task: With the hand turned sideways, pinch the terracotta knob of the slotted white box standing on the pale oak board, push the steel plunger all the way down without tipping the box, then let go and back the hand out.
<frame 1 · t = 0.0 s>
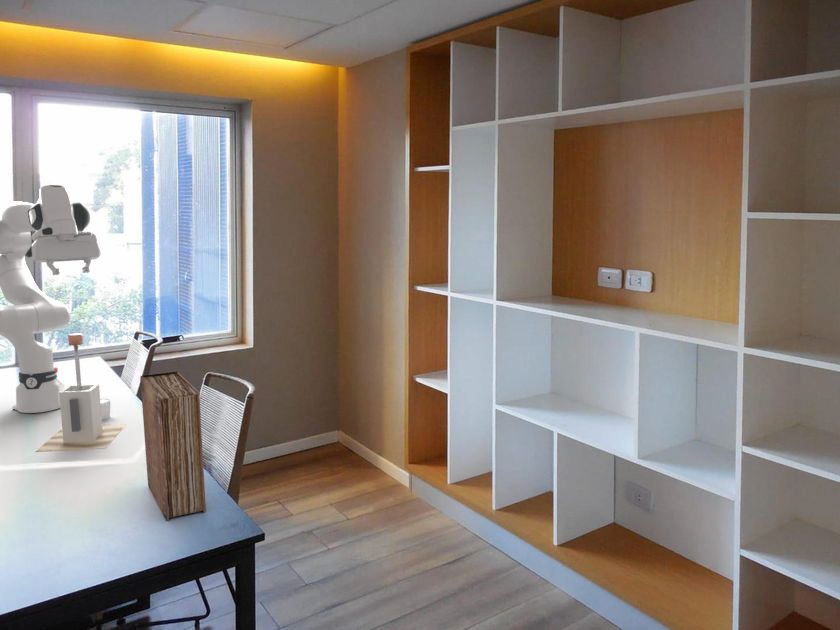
hand: (71, 273, 227), 52 cm above the table, tool tilted 20°, fingers open, 8 cm apart
slotted white box: (83, 437, 222), point 1 cm above the table, touching oak board
shot glass: (101, 421, 244), on the table
book: (175, 499, 177), on the table
plunger: (78, 372, 219), point 22 cm above the table, slide at 8.0 cm
oak board: (83, 440, 222), on the table
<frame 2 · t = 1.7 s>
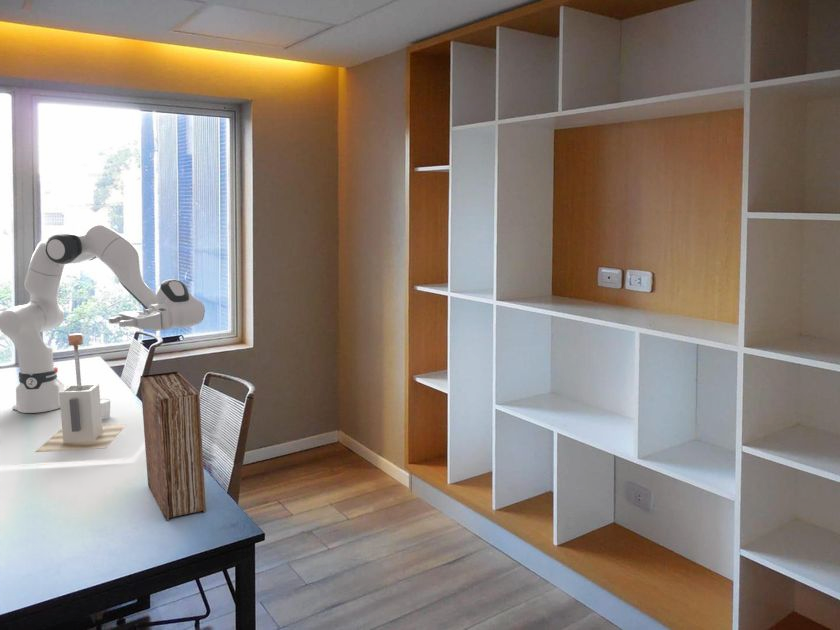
hand: (114, 322, 225), 37 cm above the table, tool horizontal, fingers open, 8 cm apart
nothing on the table moved.
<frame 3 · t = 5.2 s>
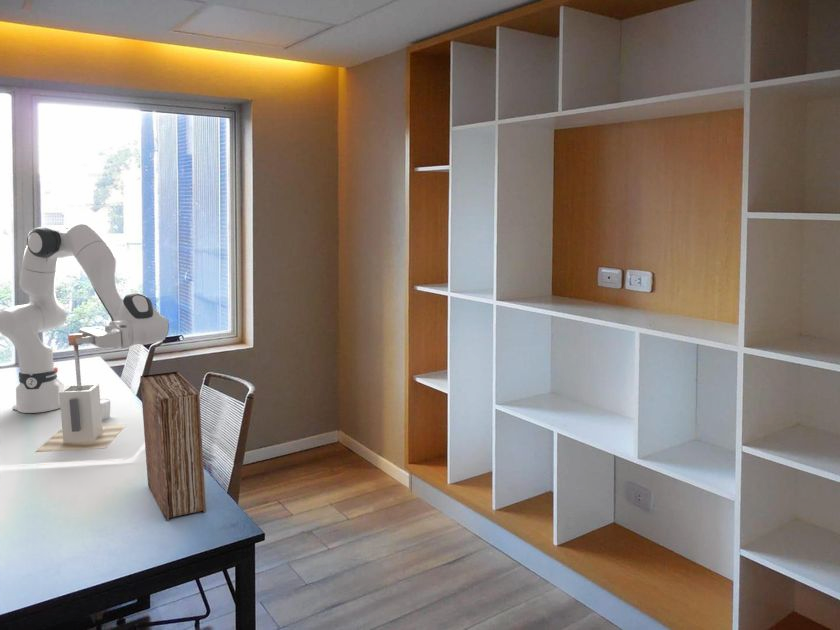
hand: (72, 339, 217), 33 cm above the table, tool horizontal, fingers closed on plunger, 4 cm apart
plunger: (78, 372, 219), point 22 cm above the table, slide at 8.0 cm, touching gripper
everything else where it was.
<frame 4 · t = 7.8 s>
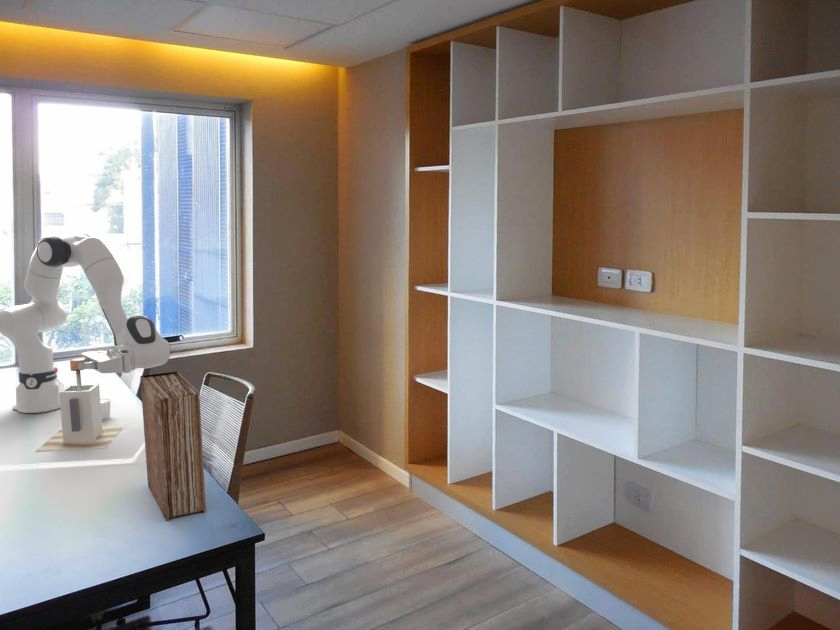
hand: (74, 365, 218), 25 cm above the table, tool horizontal, fingers closed on plunger, 4 cm apart
plunger: (80, 396, 220), point 14 cm above the table, slide at 0.0 cm, touching gripper
everything else where it was.
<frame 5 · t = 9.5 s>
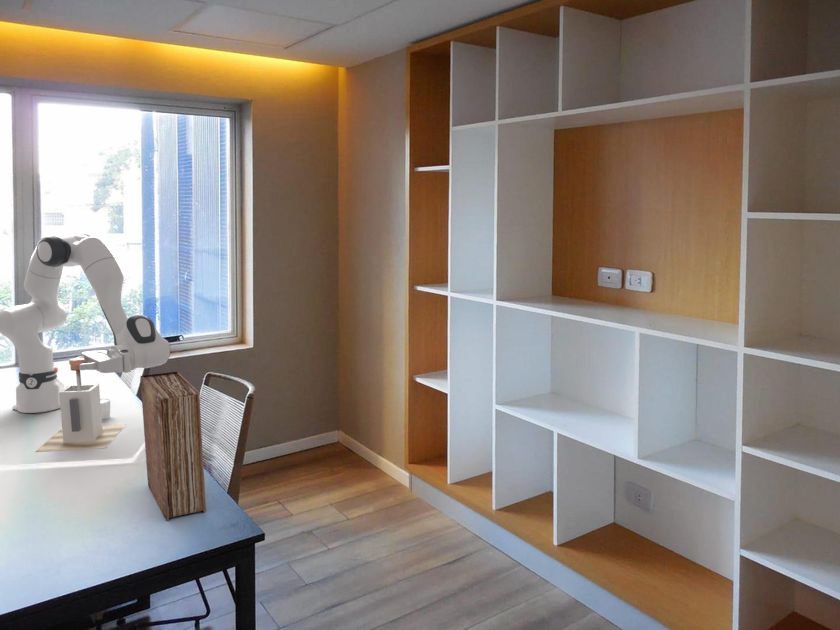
hand: (74, 364, 218), 25 cm above the table, tool horizontal, fingers open, 8 cm apart
plunger: (80, 396, 220), point 14 cm above the table, slide at 0.1 cm
everything else where it was.
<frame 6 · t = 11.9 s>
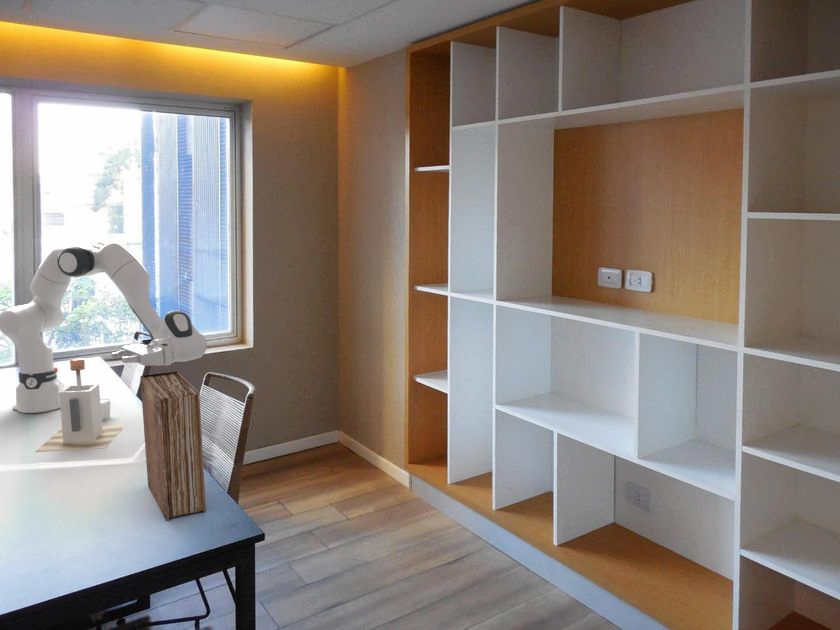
hand: (117, 357, 227), 25 cm above the table, tool horizontal, fingers open, 8 cm apart
nothing on the table moved.
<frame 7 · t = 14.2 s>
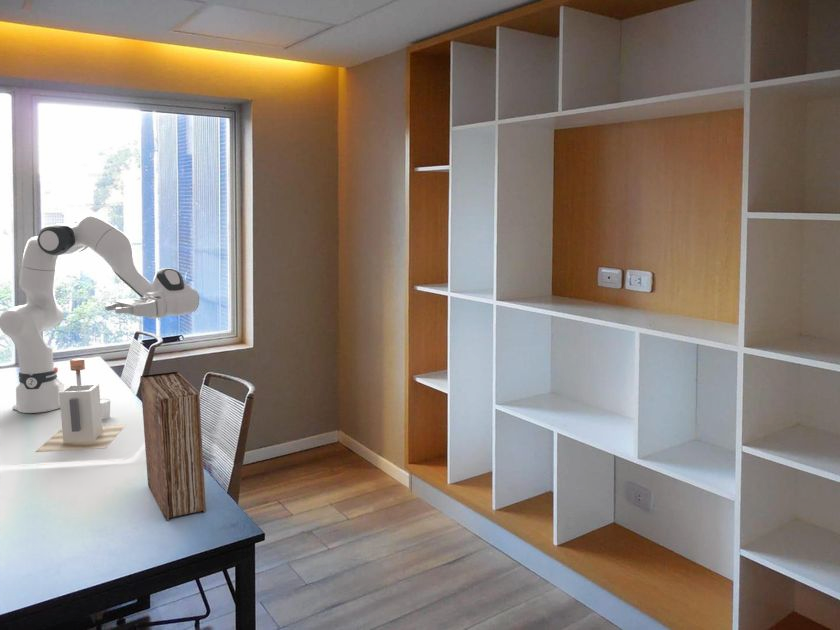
hand: (110, 309, 230), 40 cm above the table, tool horizontal, fingers open, 8 cm apart
nothing on the table moved.
at the end: plunger slide at 0.1 cm; slotted white box tilted 0°; the gripper is holding nothing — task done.
